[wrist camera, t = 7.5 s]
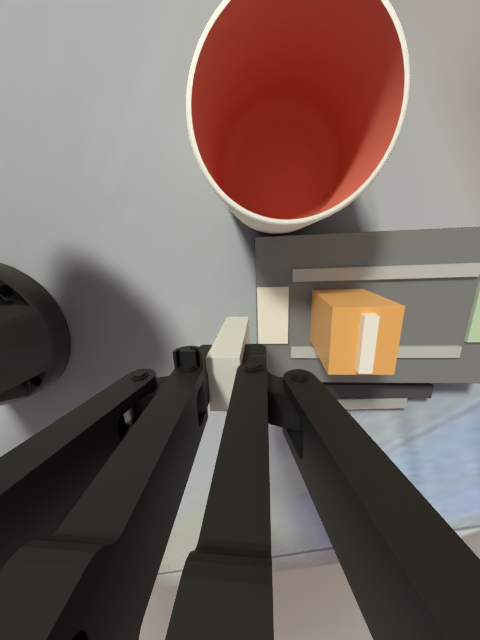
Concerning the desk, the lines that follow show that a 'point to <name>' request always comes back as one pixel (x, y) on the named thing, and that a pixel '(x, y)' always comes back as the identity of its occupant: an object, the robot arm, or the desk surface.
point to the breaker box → (382, 279)
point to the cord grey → (371, 403)
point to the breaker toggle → (355, 331)
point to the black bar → (379, 389)
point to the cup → (296, 105)
